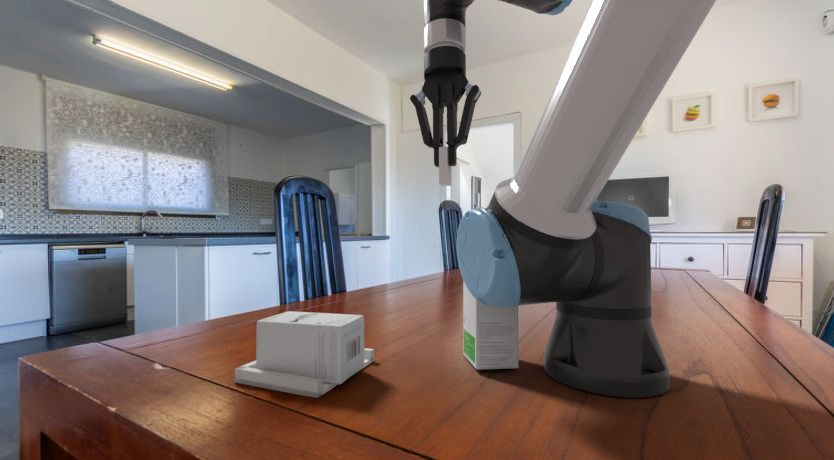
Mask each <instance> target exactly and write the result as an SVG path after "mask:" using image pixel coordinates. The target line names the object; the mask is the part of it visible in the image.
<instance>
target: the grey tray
mask: <svg viewBox="0 0 834 460" xmlns="http://www.w3.org/2000/svg"><path fill="white" fill-rule="evenodd" d="M374 362H375V349H374V348H367V347H364V366H363V367H361V368H360V369H359V370H358V371H356V372H355V373H354V374H353V375H355V374H356V373H358V372H359V371H361V370H362V369H364V368H366V367H367V366H369V365H370V364H372V363H374ZM353 375H351V376H350V377H352V376H353ZM234 383H235V384H239V385H240V384H241V385H246V386H251V387H256V388H262V389H266V390H272V391H278V392H281V393H282V392H284V393H288V394H294V395H298V396H299V395H300V396H304V397H309V398H310V397H311V398H315V399H319V398H320V397H321V396H323V395H324V394H327V392H329V391H330V390H332V389H333V388H335V387H337V386H338V385H339V384H333V383H324V382H323V380H322V379H316V378H310V377H304V376H298V375H292V374H286V373H280V372H274V371H268V370H262V369H256V360H253V361H250V362H247V363H245V364H244V365H243V364H242V365H241V366H238V367H235V368H234Z"/></svg>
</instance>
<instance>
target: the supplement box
mask: <svg viewBox="0 0 834 460" xmlns="http://www.w3.org/2000/svg"><path fill="white" fill-rule="evenodd" d="M255 344H256V350H255V351H256V352H255V353H256V355H255V358H256V369H262V370H268V371H274V372H280V373H286V374H292V375H298V376H304V377H310V378H316V379H322V380H323V382H324V383H333V384H338V385H341V384H343V383H344V382H345V381H347V380H348V379H349V378H351V377H352V376H354V375H355V374H356V373H357V372H356V371H358V370H359V369H360V368H361V367H363V366H364V348H365V316H364V315H363V314H347V313H346V314H345V313H330V312H308V311H290V310H289V311H284V312H282V313H278V314H275V315H272V316H269V317H266V318H262V319H260V320H257V322H256V343H255ZM359 371H360V370H359ZM359 371H358V372H359ZM355 372H356V373H355ZM354 373H355V374H354ZM351 375H352V376H351Z"/></svg>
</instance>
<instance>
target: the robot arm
mask: <svg viewBox="0 0 834 460" xmlns="http://www.w3.org/2000/svg"><path fill="white" fill-rule="evenodd" d="M498 1H500V2H504V3H506V4H510V5H513V6H515V7H520V8H522V9H526V10H529V11H531V12H534V13H536V14H540V15H550V16H556V15H560V14H561V13H563V12H564V11H565V9H566V8H567V7H569V6H570V5H571V3H572V2H573V0H498ZM474 2H475V0H423V54H424V55H423V84H422V85H421V90H420V91H419V92H418V93H416V94H411V95H410V97H409V100H410V101H411V103H412V104H413V106H414V107H415V112H416V117H417V120H418V124H419V129H420V135H421V138H422V142H423V144H424V145H425V146H426V147H428V148H430V149H433V165H434V166H435V167H436V168H438V185H441V186H443V187H450V186H452V167H456V166H457V163H458V162H457V160H458V159H457V156H458V155H457V149H458V148H459V147H460V146H462V145H466V144H467V142H468V138H469V134H470V130H471V125H472V121H473V117H474V111H475V108H476V103H477V102H478V100H479V99H480V97H481V95H482V91H481V89H480V88H479V85H477V84H474V85H473V84H471V83H469V80H468V78H467V73H466V72H467V68H466V67H467V65H466V63H467V61H466V60H467V59H466V58H467V57H466V49H467V48H466V46H467V45H466V44H467V43H466V40H467V38H466V11H467V9H468V8H469V7H470V6H471V5H472V4H473V3H474ZM716 2H717V0H591V2H590V4H589V8H588V9H587V11H586V13H585V16H584V18H583V21H582V24H581V25H580V28H579V30H578V32H577V35H576V37H575V39H574V41H573V44H572V46H571V48H570V51H569V52H568V55H567V58H566V59H565V62H564V64H563V67H562V69H561V71H560V73H559V76H558V79H557V81H556V82H555V85H554V86H553V90H552V92H551V95H550V96H549V98H548V101H547V103H546V104H545V105H546V106H545V108H544V110H543V112H542V115H541V117H540V119H539V120H538V123H537V125H536V128H535V131H534V133H533V135H532V137H531V140H530V143H529V144H528V146H527V149H526V151H525V154H524V156H523V158H522V160H521V163H520V165H519V168H518V170H517V173H516V174H515V176H513V177H510V178H508V179H505V180H502V181H500V182H499V183H498V184H497V185H496V187H495V189H494V191H493V194H492V196H491V199H490V201H489V203H488V205H487V206H486V207H482V206H477V207H475V208H471V210H468V211H466V212H465V213H464V215H463V216H462V217H461V219H460V221H459V224H458V229H457V235H456V256H457V262H458V268H459V271H460V274H461V278H462V281H463V280H464V283H465V285H466V287H467V288H468V290H469V292H470V293H471V294H472V296H473V297H474V298H475V299H476V300H477V301H479V302H480V303H482V304H484V305H488V306H506V307H509V308H511V307H515V306H518V307H520V306H531V305H541V304H551V303H555V304H556V307H555V312H556V313H555V318H554V321H553V323H552V327H551V330H550V333H549V336H548V339H547V341H546V346H545V348H544V351H543V369H544V371H545V373H546V374H547V376H549V377H551V378H552V379H553V380H555V381H557V382H560V383H561V384H564V385H566V386H568V387H571V388H574V389H578V390H581V391H583V392H584V391H585V392H588V393H592V394H598V395H604V396H608V397H611V396H612V397H616V398H617V397H619V398H635V399H636V398H637V399H638V398H650V397H656V396H660V395H663V394H665V393H667V392H668V391H669V390H670V387H671V380H670V374H671V373H670V367H669V364H668V361H667V359H666V356H665V354H664V351H663V348H662V346H661V344H660V341H659V339H658V336H657V332H656V330H655V327H654V325H653V320H652V319H653V317H652V264H651V263H652V261H651V257H652V256H651V255H652V254H651V253H652V251H651V250H652V249H651V244H652V241H653V238H652V237H653V236H652V234H651V231H650V221H649V220H650V219H649V216H648V214H647V213H646V211H644V210H643V209H642V208H640V207H638V206H636V205H633V204H629V203H624V202H619V201H600V200H597V199H598V197H599V196H600V194H601V192H602V191H603V189H604V188H605V186H606V184H607V182H608V181H609V179H610V177H611V176H612V174H613V172H614V171H615V169H616V168H617V166H618V164H619V163H620V161H621V159H622V158H623V156H624V154H625V153H626V151H627V149H628V148H629V146H630V144H631V143H632V141H633V139H634V138H635V136H636V134H637V132H638V131H639V130H640V127H641V126H642V124H643V123H644V121H645V119H646V117H647V116H648V114H650V113H649V112H651V110H652V108H653V106H654V105H655V103H656V101H657V99H658V98H659V96H660V94H661V93H662V91H663V89H664V88H665V86H666V84H667V82H668V81H669V79H670V78H671V76H672V74H673V73H674V71H675V69H676V68H677V66H678V65H679V63H680V62H681V59H682V58H683V56H684V54H685V53H686V51H687V50H688V48H689V46H690V45H691V43H692V41H693V40H694V38H695V36H696V34H697V33H698V31H699V29H700V28H701V26H702V25H703V23H704V21H705V20H706V18H707V16H708V15H709V13H710V11H711V10H712V8H713V7H714V5H715V3H716ZM464 94H465V96H466V97H465V101H464V106H463V109H462V114H461V117H460V123H459V127H458V110H459V108H458V107H459V105H458V104H459V102H460V101H461V99H462V98H463V96H464ZM426 98H427V100H428V101H429V102H430V104H431V108H432V130H431V125H430V121H429V119H428V114H427V110H426V107H425V105H426ZM445 108H446V141H445V143H446V145H447V146H444V113H445Z"/></svg>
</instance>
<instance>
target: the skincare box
mask: <svg viewBox="0 0 834 460" xmlns="http://www.w3.org/2000/svg"><path fill="white" fill-rule="evenodd" d="M462 281H463V283H462V284H463V286H462V287H463V289H462V290H463V291H462V292H463V293H462V294H463V299H462V301H463V302H462V303H463V305H462V306H463V307H462V308H463V310H462V311H463V312H462V313H463V314H462V315H463V318H462V319H463V321H462V322H463V324H462V325H463V326H462V328H463V330H462V331H463V333H462V334H463V335H462V336H463V337H462V338H463V340H462V341H463V342H462V346H463V347H462V350H463V351H462V353H463V356H464V357H465V358H466V360H467V361H468V362H469V363H470V364H471V365H472V367H474V369H475V370H477V371H480V370H481V371H483V370H500V369H501V370H503V369H505V370H507V369H508V370H509V369H519V367H520V366H519V363H520V362H519V361H520V360H519V306H515V307H511V308H509V307H506V306H488V305H484V304H482V303H480V302H479V301H477V300H476V299H475V298H474V297H473V296H472V294H471V293H470V292H469V290H468V288H467V287H466V285H465V283H464V280H463V279H462Z"/></svg>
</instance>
